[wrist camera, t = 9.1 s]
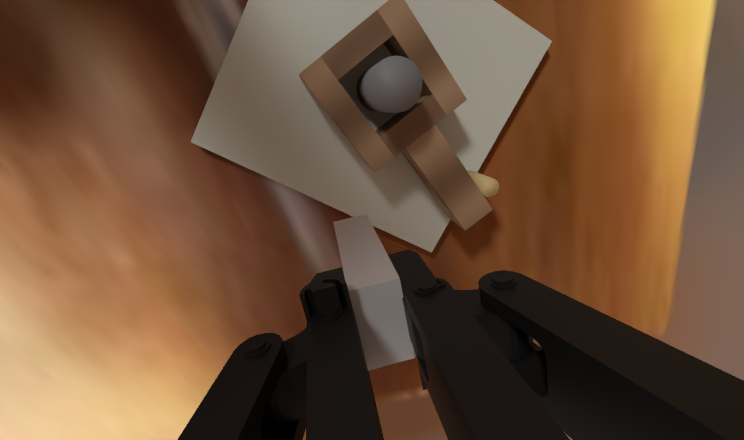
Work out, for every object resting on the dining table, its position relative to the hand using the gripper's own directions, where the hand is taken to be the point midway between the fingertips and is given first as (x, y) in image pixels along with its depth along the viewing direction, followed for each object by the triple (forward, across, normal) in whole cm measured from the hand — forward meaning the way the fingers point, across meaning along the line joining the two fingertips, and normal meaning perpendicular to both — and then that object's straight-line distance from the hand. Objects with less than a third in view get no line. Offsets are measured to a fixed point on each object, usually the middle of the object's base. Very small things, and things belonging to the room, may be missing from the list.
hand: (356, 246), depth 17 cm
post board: (+20, +5, +6) cm, 21 cm away
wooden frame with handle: (+18, +7, +2) cm, 20 cm away
